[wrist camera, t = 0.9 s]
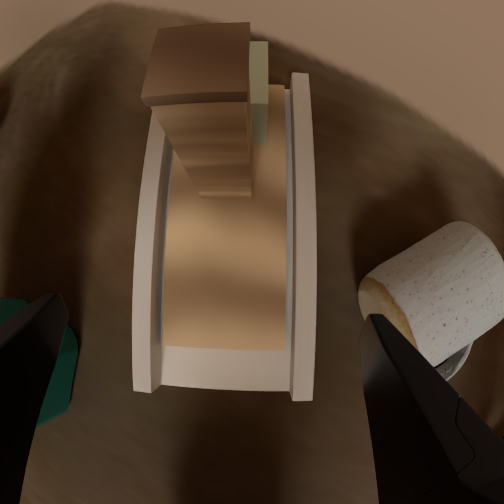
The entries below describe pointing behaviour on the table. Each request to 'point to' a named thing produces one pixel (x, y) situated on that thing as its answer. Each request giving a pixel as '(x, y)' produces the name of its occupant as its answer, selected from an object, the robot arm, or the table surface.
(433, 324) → the ceramic mug
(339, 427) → the table surface
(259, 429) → the table surface
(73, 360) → the green bottle
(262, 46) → the block
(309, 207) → the lane board
